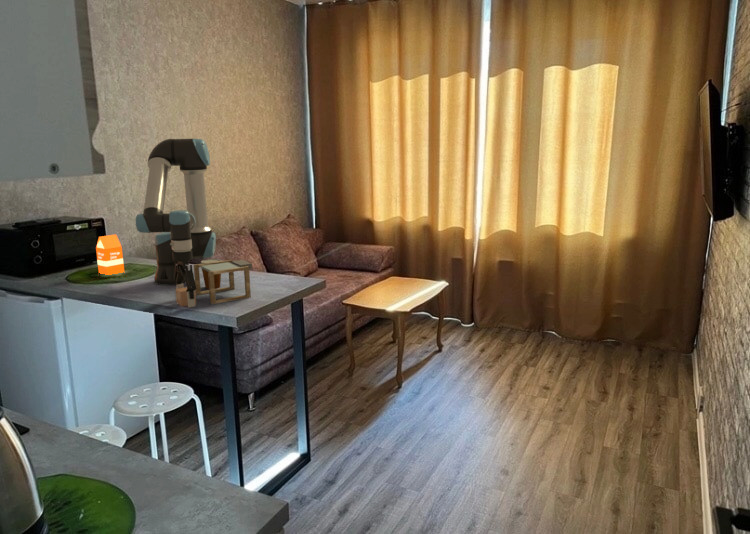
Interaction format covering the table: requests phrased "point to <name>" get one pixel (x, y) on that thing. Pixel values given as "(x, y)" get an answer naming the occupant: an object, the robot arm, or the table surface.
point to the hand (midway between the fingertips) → (186, 303)
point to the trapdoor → (227, 265)
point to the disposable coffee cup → (216, 276)
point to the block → (182, 296)
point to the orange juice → (109, 255)
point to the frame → (213, 290)
